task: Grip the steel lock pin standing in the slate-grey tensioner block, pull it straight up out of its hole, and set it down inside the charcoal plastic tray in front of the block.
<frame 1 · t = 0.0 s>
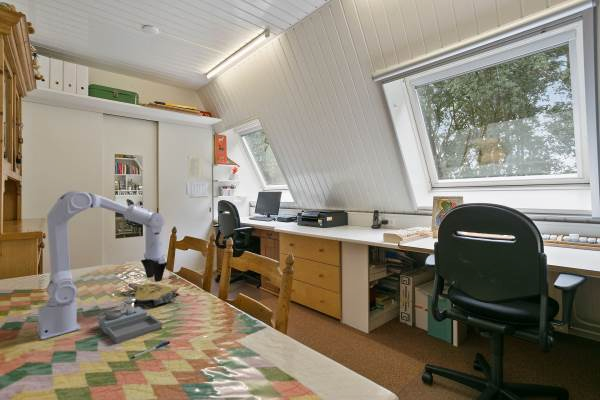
hand: (154, 279, 114), 10 cm above the table, tool pointing down, fingers open, 7 cm apart
ballpoint pen: (151, 352, 82), on the table
tensioner block: (123, 323, 98), on the table
lock pin: (130, 321, 100), resting in tensioner block
pulley block: (149, 298, 122), on the table
tray: (134, 331, 93), on the table
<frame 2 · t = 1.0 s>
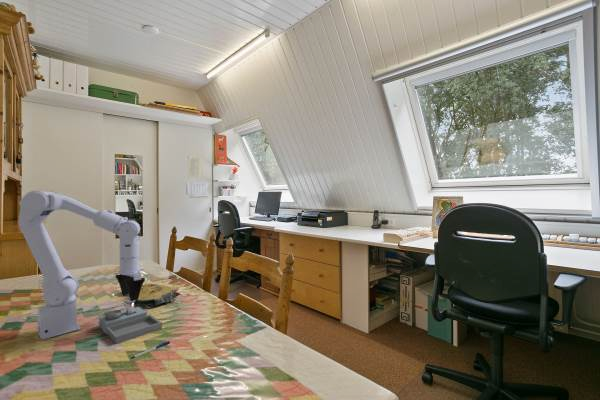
hand: (130, 297, 99), 8 cm above the table, tool pointing down, fingers open, 7 cm apart
nothing on the table moved.
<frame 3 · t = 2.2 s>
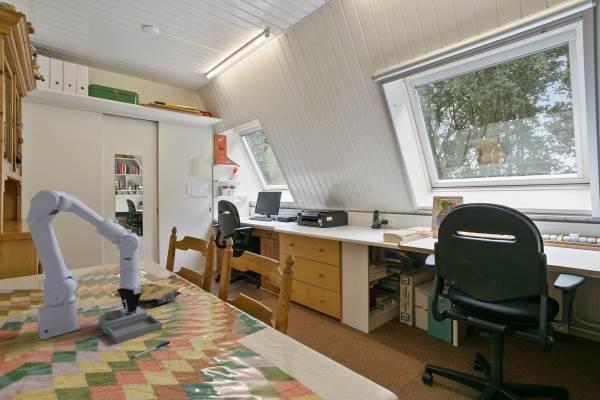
hand: (130, 310, 100), 4 cm above the table, tool pointing down, fingers closed on lock pin, 3 cm apart
lock pin: (130, 321, 100), resting in tensioner block, touching gripper
everything else where it was.
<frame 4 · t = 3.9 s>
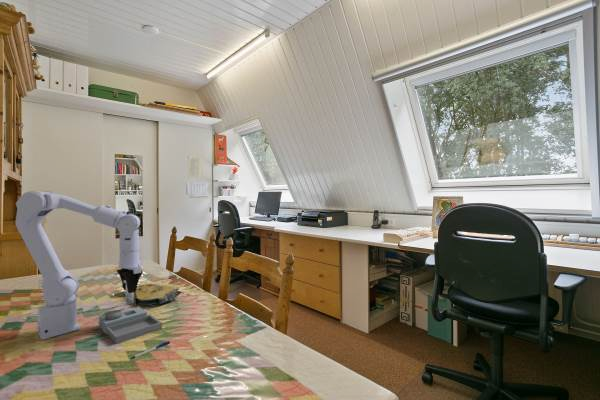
hand: (129, 291, 99), 10 cm above the table, tool pointing down, fingers closed on lock pin, 3 cm apart
lock pin: (130, 302, 99), point 6 cm above the table, touching gripper
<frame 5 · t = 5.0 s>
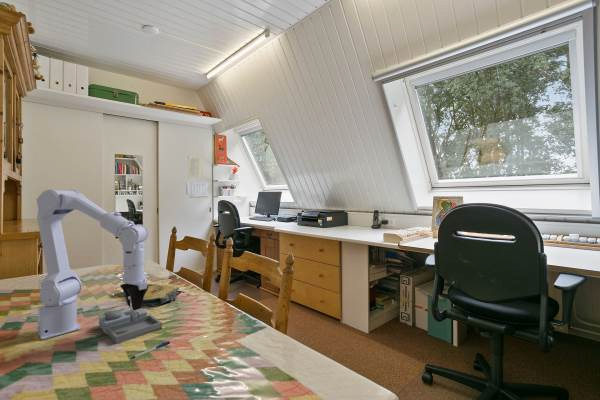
hand: (134, 307, 93), 7 cm above the table, tool pointing down, fingers closed on lock pin, 3 cm apart
lock pin: (134, 319, 93), point 3 cm above the table, touching gripper
when the fingers open (6 cm above the table, at t = 5.6 s): lock pin drops 2 cm, resting on tray.
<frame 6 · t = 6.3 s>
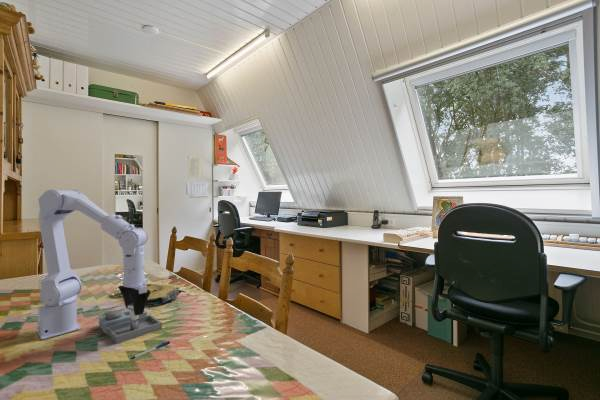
hand: (134, 310, 93), 6 cm above the table, tool pointing down, fingers open, 7 cm apart
lock pin: (134, 329, 93), point 1 cm above the table, touching tray
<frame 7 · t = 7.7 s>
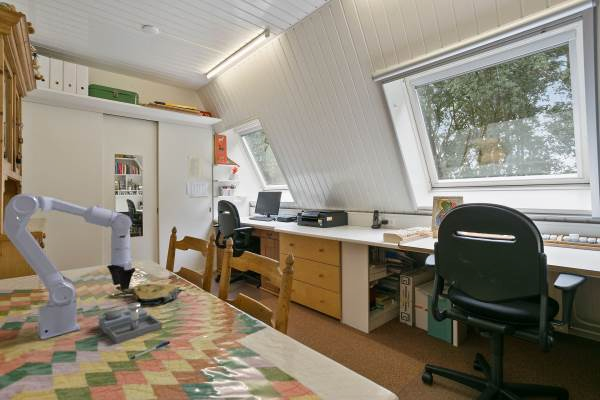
hand: (121, 286, 104), 10 cm above the table, tool pointing down, fingers open, 7 cm apart
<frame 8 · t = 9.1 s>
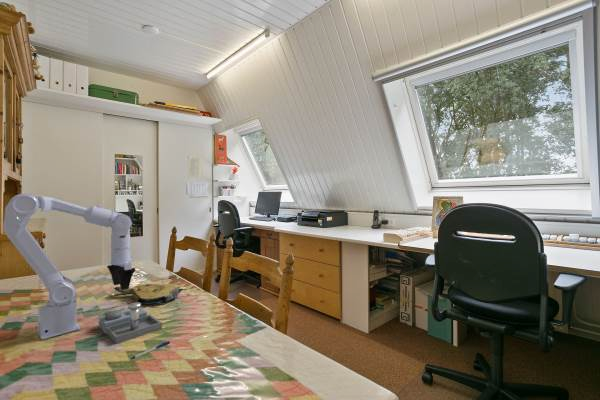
hand: (121, 286, 104), 10 cm above the table, tool pointing down, fingers open, 7 cm apart
at the end: lock pin inside the target area on the tray (0.3 cm from its centre), point 0.5 cm above the tray's base; the gripper is holding nothing; lock pin touching tray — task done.
